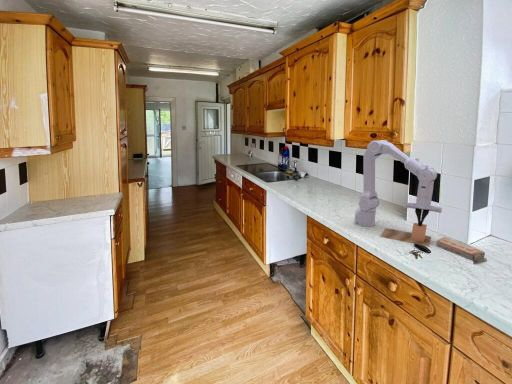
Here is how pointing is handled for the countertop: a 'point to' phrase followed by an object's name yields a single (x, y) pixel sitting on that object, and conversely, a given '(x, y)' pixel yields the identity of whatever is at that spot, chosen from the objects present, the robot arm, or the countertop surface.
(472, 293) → the countertop surface
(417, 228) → the orange rectangular block
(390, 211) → the countertop surface
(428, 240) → the board
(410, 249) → the countertop surface
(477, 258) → the packaged product
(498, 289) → the countertop surface
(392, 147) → the robot arm
